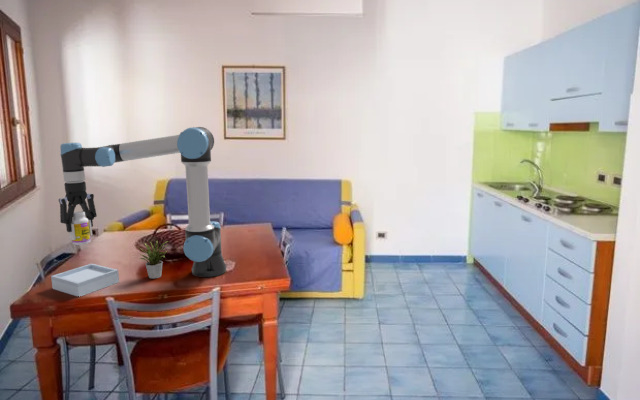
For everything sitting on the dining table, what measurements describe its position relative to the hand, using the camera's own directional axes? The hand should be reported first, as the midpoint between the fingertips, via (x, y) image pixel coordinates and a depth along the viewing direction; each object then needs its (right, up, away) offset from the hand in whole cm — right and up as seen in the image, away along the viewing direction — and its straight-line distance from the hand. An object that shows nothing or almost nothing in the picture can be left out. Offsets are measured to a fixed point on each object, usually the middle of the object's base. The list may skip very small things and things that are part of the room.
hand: (81, 237), depth 186 cm
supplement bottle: (0, -3, +1) cm, 3 cm away
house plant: (+27, -19, +14) cm, 35 cm away
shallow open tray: (0, -21, +4) cm, 21 cm away
